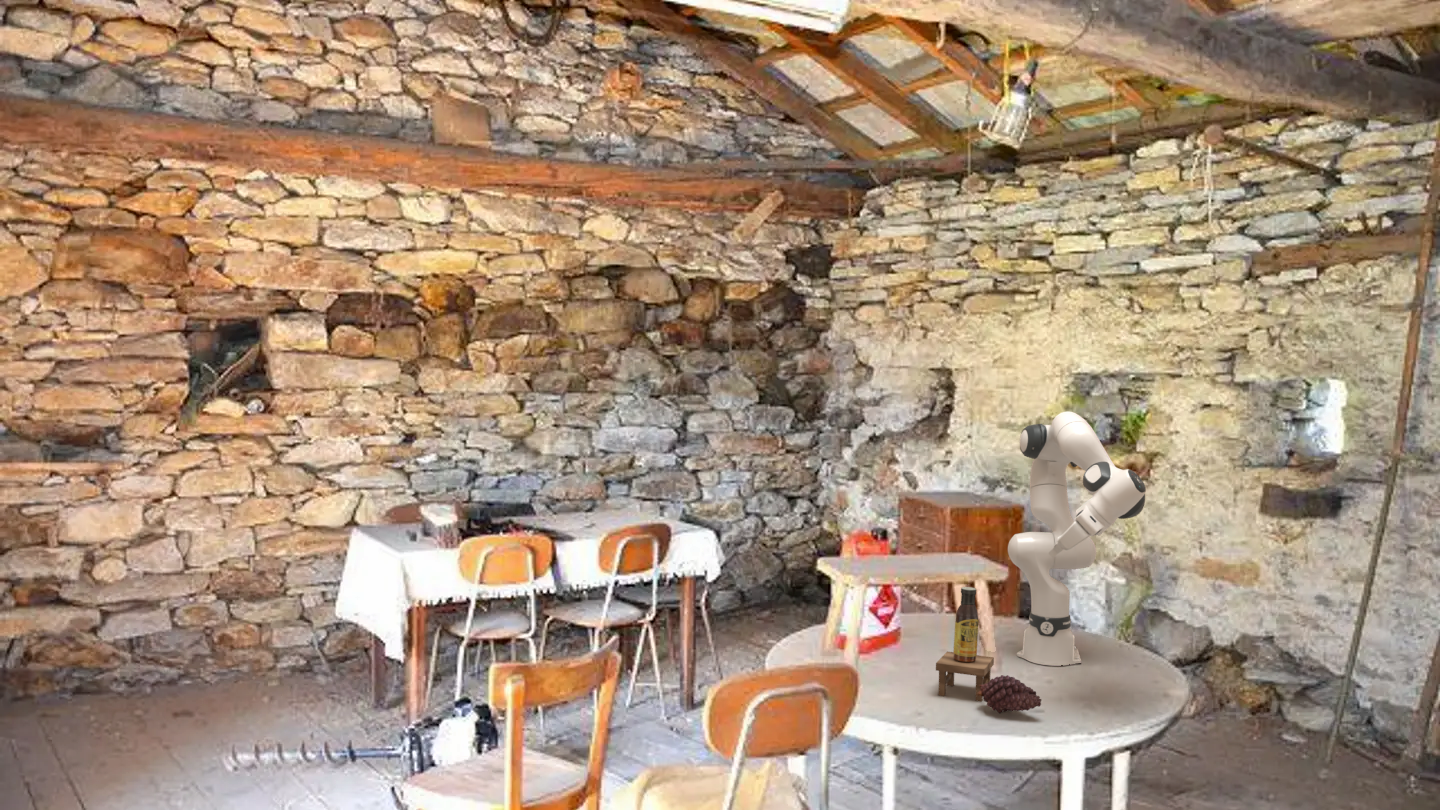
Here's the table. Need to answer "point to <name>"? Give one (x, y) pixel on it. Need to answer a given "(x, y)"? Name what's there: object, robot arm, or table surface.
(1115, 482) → the robot arm
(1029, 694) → the pine cone
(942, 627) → the table surface
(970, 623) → the sauce bottle
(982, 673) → the light brown wooden stool
